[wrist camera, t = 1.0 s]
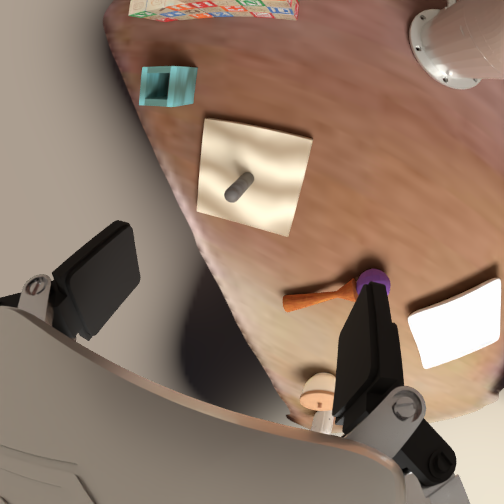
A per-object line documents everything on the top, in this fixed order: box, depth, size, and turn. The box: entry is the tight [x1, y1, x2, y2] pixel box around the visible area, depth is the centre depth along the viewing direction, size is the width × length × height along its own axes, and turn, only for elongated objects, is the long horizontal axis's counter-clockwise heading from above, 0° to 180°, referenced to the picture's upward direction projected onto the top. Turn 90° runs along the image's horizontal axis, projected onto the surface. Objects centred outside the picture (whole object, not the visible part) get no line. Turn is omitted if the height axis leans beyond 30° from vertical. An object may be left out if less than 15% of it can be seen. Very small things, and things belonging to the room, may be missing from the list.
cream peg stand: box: [197, 118, 313, 237], centre depth 37 cm, size 16×16×10 cm
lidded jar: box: [300, 373, 336, 411], centre depth 61 cm, size 11×11×9 cm
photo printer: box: [311, 410, 334, 435], centre depth 71 cm, size 10×4×12 cm, turn 168°
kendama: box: [283, 269, 390, 312], centre depth 46 cm, size 6×6×20 cm
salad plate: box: [408, 278, 501, 369], centre depth 43 cm, size 21×21×3 cm
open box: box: [139, 66, 198, 107], centre depth 33 cm, size 6×6×6 cm
